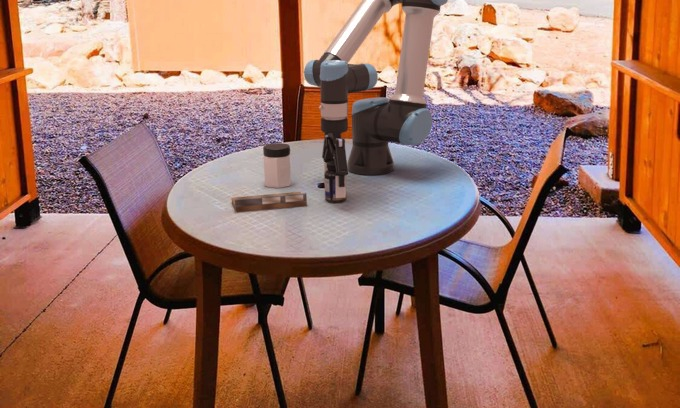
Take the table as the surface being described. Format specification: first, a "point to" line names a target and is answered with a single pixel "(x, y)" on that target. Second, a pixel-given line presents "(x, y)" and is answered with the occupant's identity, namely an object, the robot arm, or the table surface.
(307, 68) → the robot arm
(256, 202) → the wooden compartment tray
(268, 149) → the jar
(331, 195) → the pill bottle
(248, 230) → the table surface
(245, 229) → the table surface
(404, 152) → the table surface
